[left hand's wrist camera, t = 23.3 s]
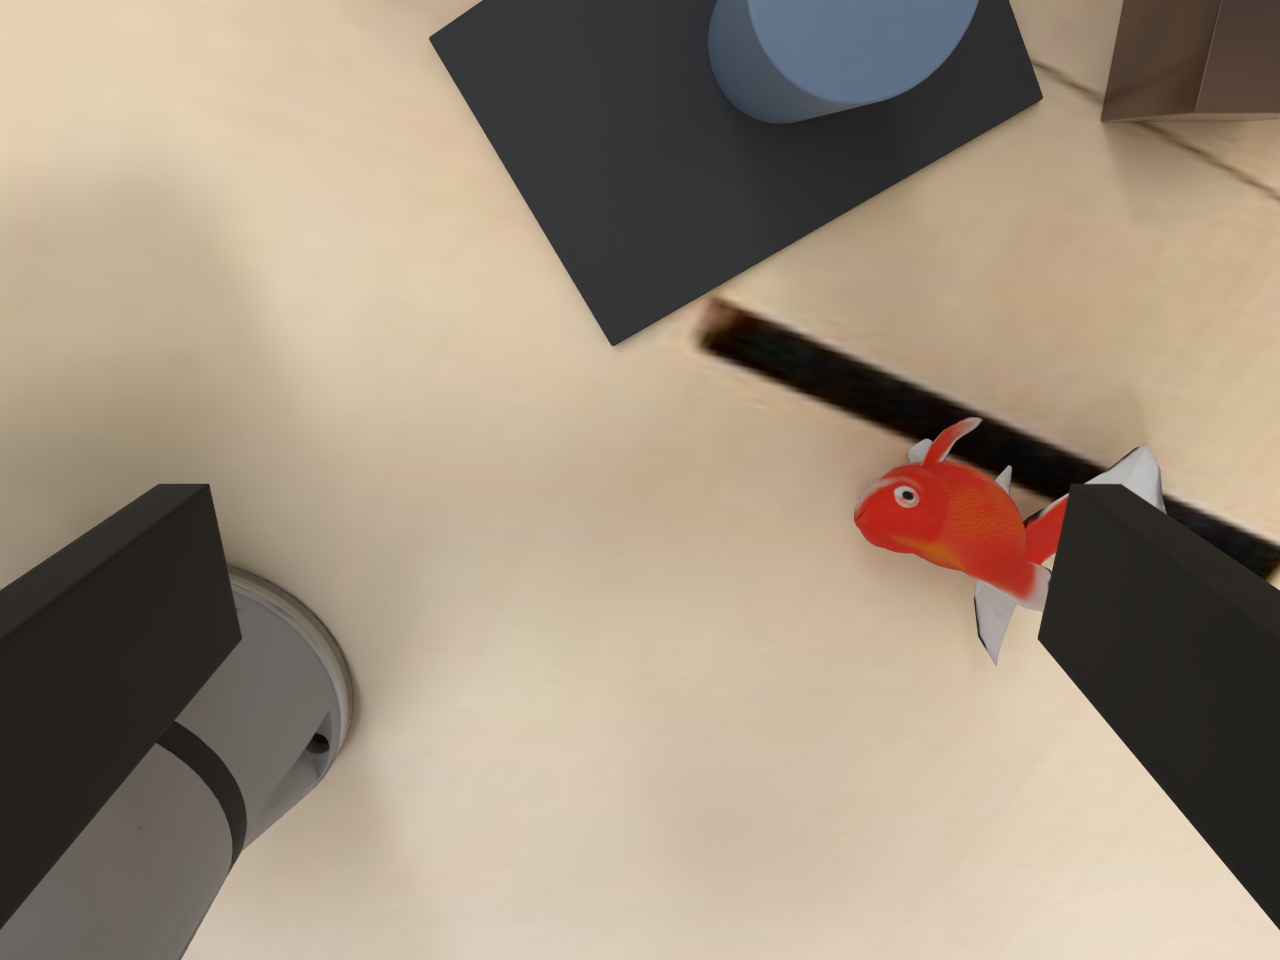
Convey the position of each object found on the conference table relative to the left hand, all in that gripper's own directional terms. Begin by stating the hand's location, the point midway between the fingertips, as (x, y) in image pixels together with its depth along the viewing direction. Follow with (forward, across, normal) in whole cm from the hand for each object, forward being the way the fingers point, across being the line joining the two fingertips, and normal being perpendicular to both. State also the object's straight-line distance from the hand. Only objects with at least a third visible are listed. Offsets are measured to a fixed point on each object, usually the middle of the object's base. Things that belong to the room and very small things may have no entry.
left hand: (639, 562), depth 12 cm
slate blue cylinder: (+24, -6, -10) cm, 27 cm away
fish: (+25, -17, +9) cm, 31 cm away
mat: (+25, -4, -9) cm, 27 cm away
